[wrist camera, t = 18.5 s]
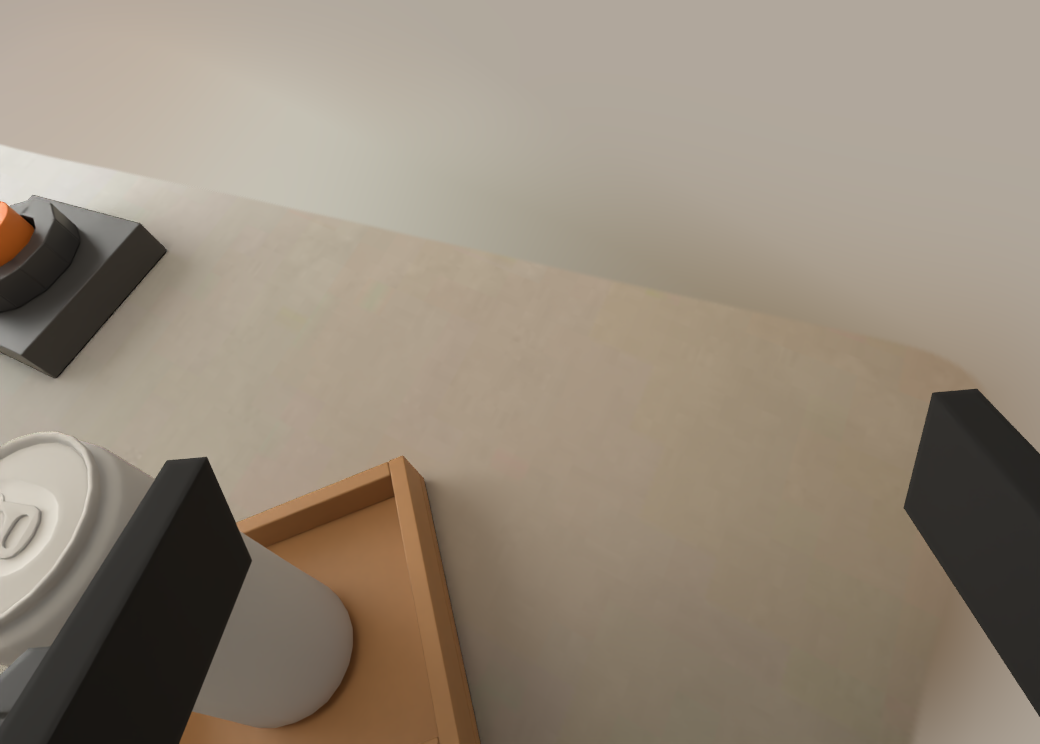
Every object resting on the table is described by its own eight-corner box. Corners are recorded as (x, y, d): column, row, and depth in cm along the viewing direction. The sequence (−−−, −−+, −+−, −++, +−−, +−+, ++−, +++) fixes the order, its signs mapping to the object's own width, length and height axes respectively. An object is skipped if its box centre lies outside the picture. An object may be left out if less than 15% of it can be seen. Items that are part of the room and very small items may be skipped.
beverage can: (268, 574, 27) (-13, 417, 17) (381, 596, 25) (138, 434, 15) (211, 714, 24) (-153, 623, 15) (330, 748, 23) (7, 670, 13)
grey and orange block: (167, 250, 41) (116, 198, 37) (56, 379, 37) (-11, 334, 34) (60, 219, 46) (7, 171, 43) (-46, 330, 42) (-113, 287, 39)
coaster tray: (424, 477, 28) (403, 454, 26) (484, 759, 22) (461, 751, 20) (169, 579, 28) (133, 563, 27) (159, 877, 22) (112, 879, 21)
